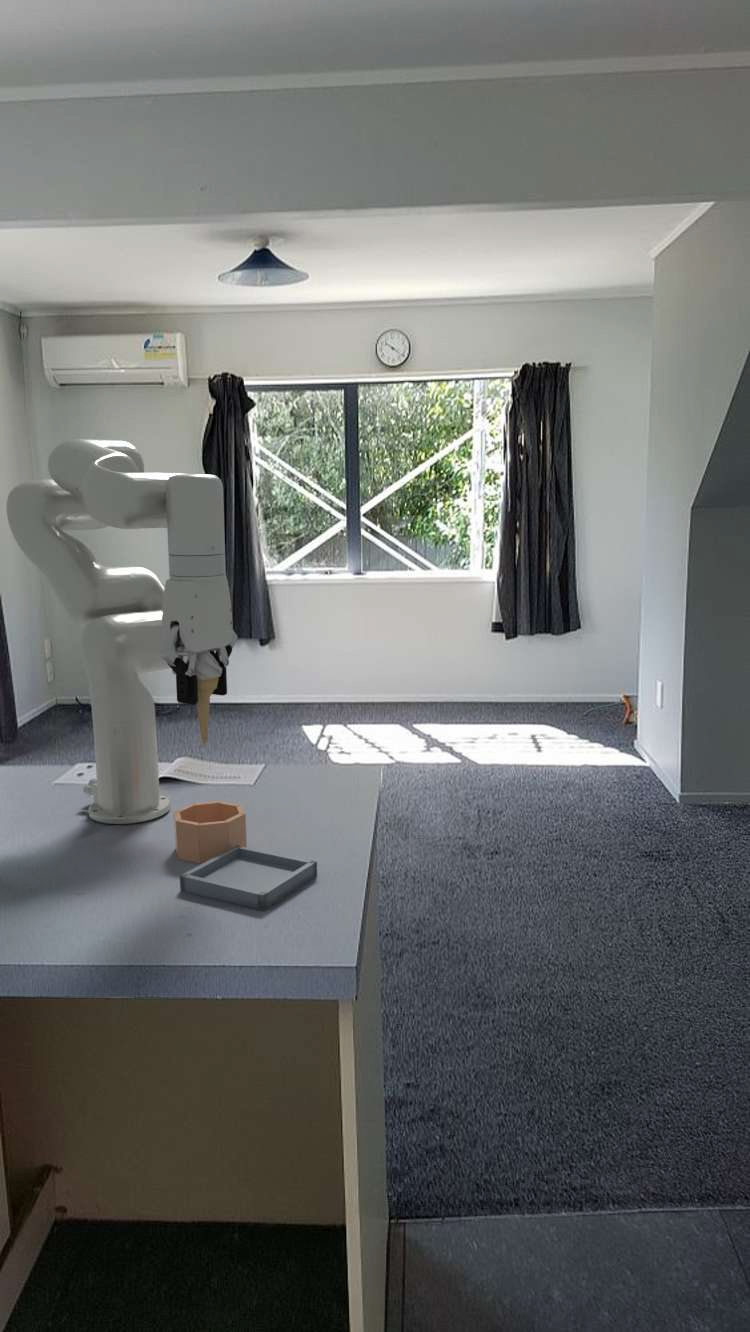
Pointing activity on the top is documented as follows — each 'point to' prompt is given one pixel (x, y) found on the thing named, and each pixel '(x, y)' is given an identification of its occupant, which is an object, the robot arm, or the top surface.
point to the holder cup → (208, 830)
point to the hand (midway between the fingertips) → (202, 697)
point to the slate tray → (249, 877)
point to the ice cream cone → (205, 687)
